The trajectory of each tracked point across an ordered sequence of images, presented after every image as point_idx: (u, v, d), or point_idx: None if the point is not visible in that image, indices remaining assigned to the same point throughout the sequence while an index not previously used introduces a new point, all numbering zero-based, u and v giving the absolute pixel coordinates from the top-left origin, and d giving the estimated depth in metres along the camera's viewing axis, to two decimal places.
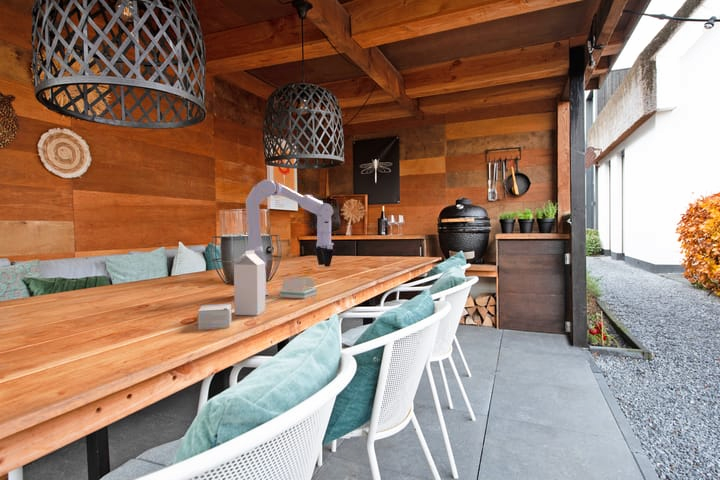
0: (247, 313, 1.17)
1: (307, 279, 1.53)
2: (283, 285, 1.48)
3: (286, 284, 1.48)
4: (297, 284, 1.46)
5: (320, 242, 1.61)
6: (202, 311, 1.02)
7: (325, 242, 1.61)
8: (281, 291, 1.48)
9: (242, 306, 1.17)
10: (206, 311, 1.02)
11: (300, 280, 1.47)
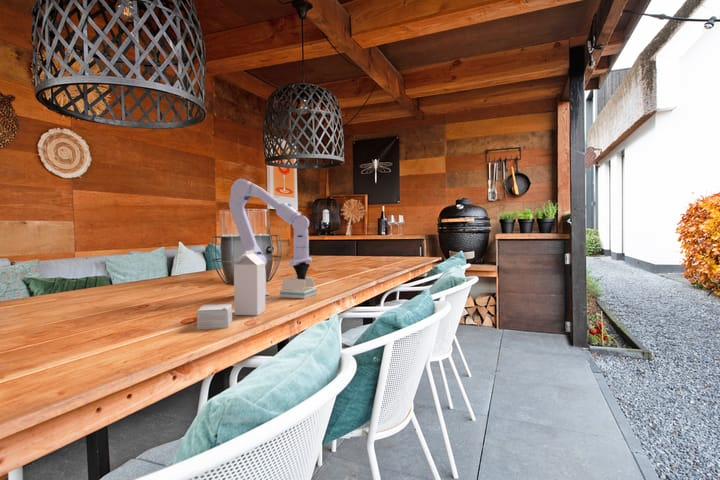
0: (247, 313, 1.17)
1: (307, 279, 1.53)
2: (283, 285, 1.48)
3: (286, 284, 1.48)
4: (297, 284, 1.46)
5: None
6: (201, 311, 1.02)
7: (296, 257, 1.50)
8: (281, 291, 1.48)
9: (242, 306, 1.17)
10: (205, 311, 1.02)
11: (300, 280, 1.47)
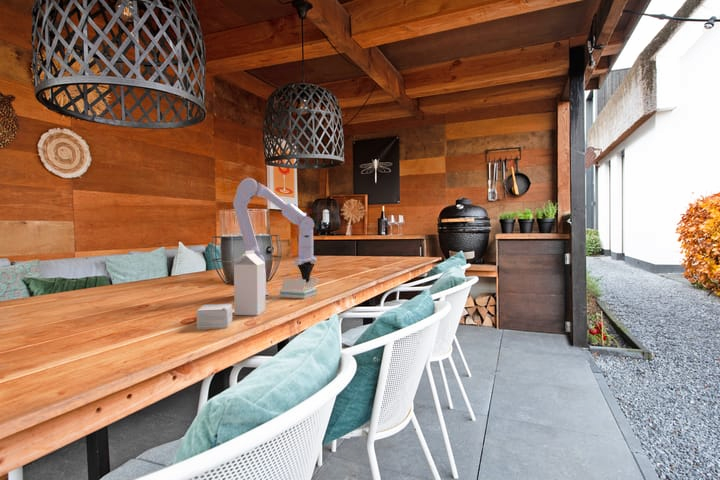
0: (247, 313, 1.17)
1: (312, 279, 1.57)
2: (283, 285, 1.48)
3: (286, 284, 1.48)
4: (297, 284, 1.46)
5: None
6: (200, 311, 1.02)
7: (301, 257, 1.54)
8: (281, 291, 1.48)
9: (242, 306, 1.17)
10: (204, 311, 1.02)
11: (300, 280, 1.47)
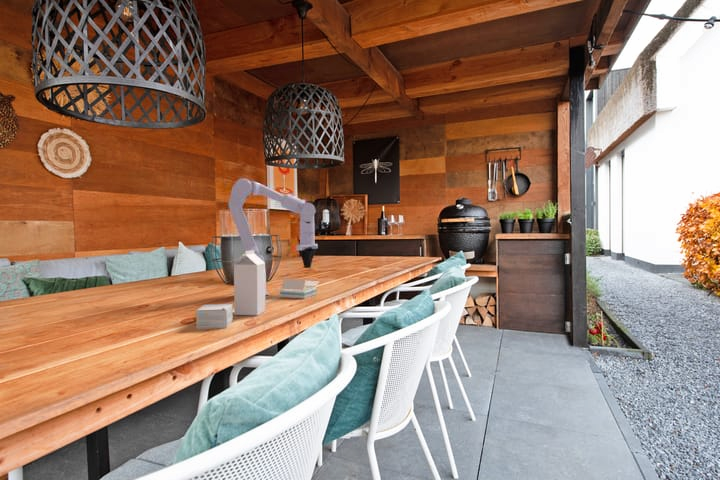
0: (247, 313, 1.17)
1: (313, 281, 1.58)
2: (283, 285, 1.48)
3: (286, 284, 1.48)
4: (297, 284, 1.46)
5: (300, 243, 1.56)
6: (200, 310, 1.02)
7: (303, 243, 1.55)
8: (281, 291, 1.48)
9: (242, 306, 1.17)
10: (204, 311, 1.02)
11: (300, 280, 1.47)
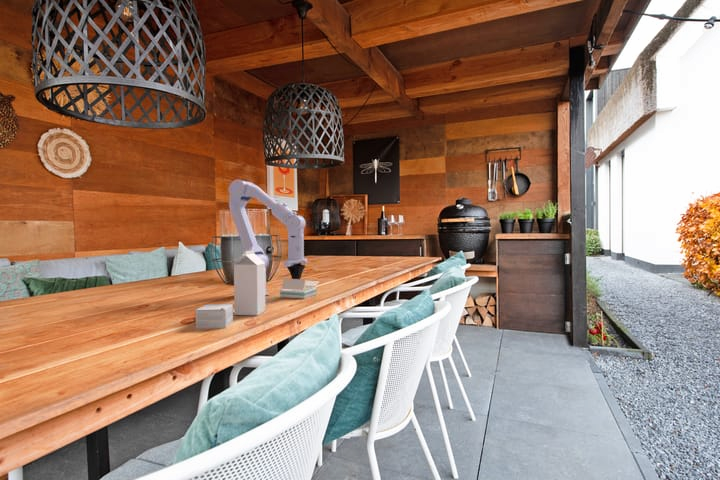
0: (247, 313, 1.17)
1: (313, 281, 1.58)
2: (283, 285, 1.48)
3: (286, 284, 1.48)
4: (297, 284, 1.46)
5: (288, 258, 1.48)
6: (199, 310, 1.03)
7: (291, 258, 1.46)
8: (281, 291, 1.48)
9: (242, 306, 1.17)
10: (203, 310, 1.03)
11: (300, 280, 1.47)
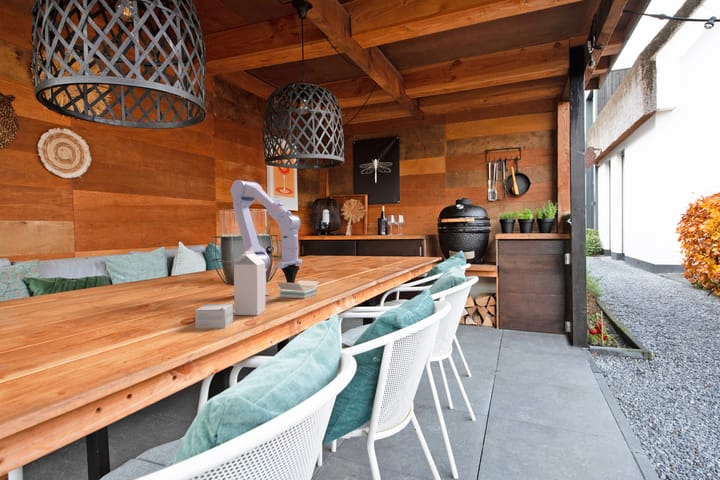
0: (247, 313, 1.17)
1: (313, 281, 1.58)
2: (281, 287, 1.47)
3: (283, 287, 1.46)
4: (294, 287, 1.44)
5: (282, 259, 1.44)
6: (199, 310, 1.03)
7: (285, 260, 1.42)
8: (281, 291, 1.48)
9: (242, 306, 1.17)
10: (203, 310, 1.03)
11: (294, 284, 1.43)
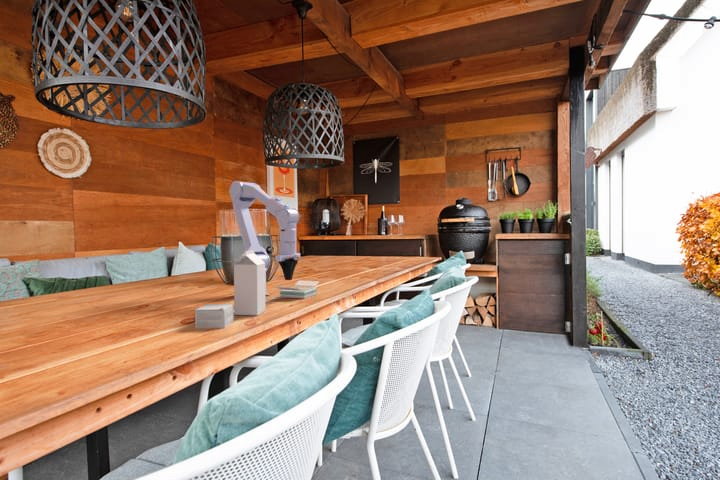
0: (247, 313, 1.17)
1: (313, 281, 1.58)
2: (280, 288, 1.46)
3: (283, 289, 1.46)
4: (294, 289, 1.44)
5: (280, 253, 1.42)
6: (198, 310, 1.03)
7: (283, 253, 1.41)
8: (281, 291, 1.48)
9: (242, 306, 1.17)
10: (202, 310, 1.03)
11: (293, 288, 1.42)
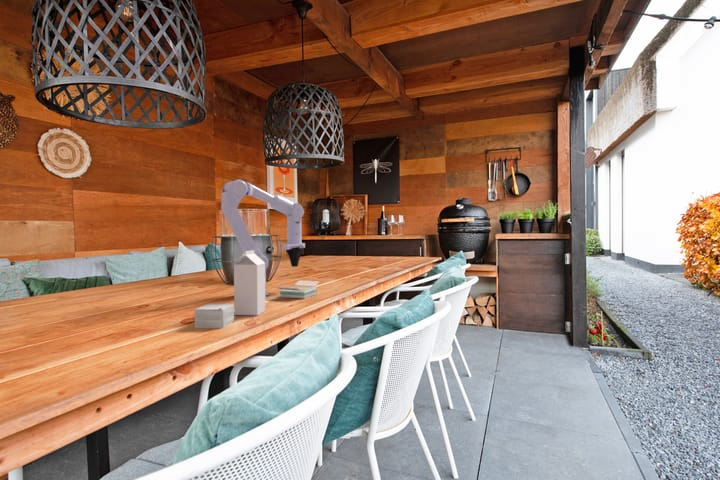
0: (247, 313, 1.17)
1: (313, 281, 1.58)
2: None
3: (283, 289, 1.46)
4: (294, 289, 1.44)
5: (287, 242, 1.61)
6: (198, 310, 1.03)
7: (290, 243, 1.59)
8: (281, 291, 1.48)
9: (242, 306, 1.17)
10: (202, 310, 1.03)
11: (293, 288, 1.42)
